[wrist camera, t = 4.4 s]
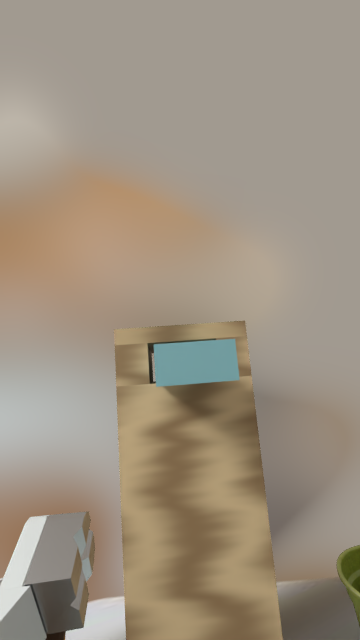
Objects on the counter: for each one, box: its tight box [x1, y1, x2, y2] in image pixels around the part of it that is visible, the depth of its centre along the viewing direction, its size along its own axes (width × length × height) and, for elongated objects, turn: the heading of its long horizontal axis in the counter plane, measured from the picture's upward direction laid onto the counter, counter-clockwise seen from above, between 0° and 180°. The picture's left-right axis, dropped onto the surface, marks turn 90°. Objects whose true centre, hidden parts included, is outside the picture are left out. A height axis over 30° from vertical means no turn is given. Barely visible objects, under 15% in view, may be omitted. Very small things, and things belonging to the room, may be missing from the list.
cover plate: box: [154, 339, 240, 387], centre depth 23 cm, size 4×18×2 cm, turn 3°
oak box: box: [114, 321, 283, 640], centre depth 25 cm, size 10×10×30 cm
